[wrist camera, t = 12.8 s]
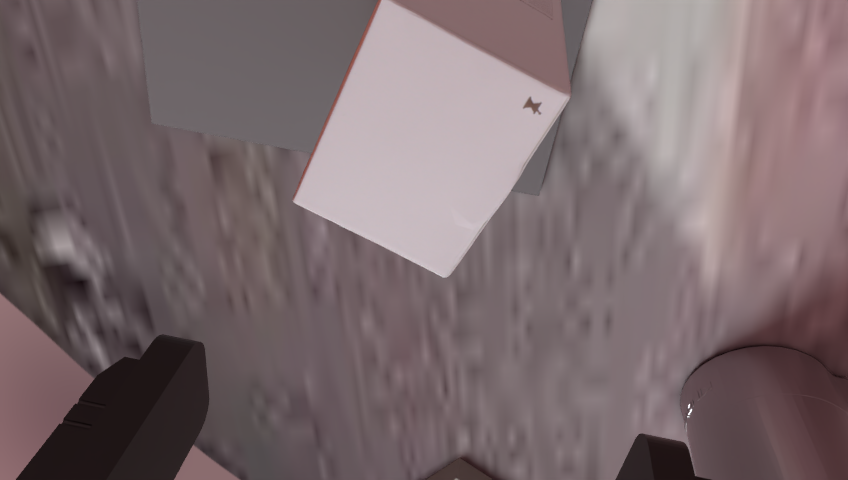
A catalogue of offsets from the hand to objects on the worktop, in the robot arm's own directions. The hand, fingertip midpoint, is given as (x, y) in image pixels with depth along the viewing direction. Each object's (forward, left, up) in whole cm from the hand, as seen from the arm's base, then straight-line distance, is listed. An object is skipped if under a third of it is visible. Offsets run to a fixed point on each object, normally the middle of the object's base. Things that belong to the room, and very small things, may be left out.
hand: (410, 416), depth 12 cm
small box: (+1, 0, -23) cm, 23 cm away
